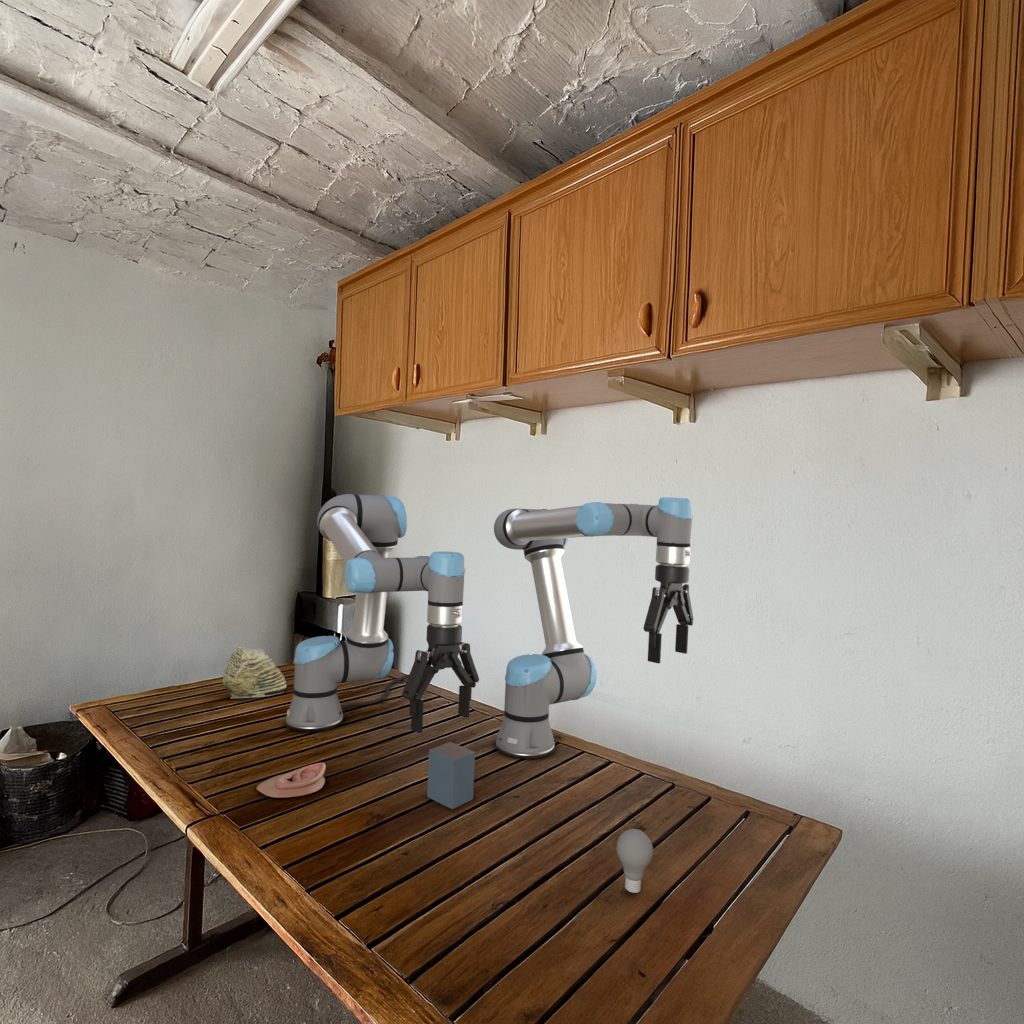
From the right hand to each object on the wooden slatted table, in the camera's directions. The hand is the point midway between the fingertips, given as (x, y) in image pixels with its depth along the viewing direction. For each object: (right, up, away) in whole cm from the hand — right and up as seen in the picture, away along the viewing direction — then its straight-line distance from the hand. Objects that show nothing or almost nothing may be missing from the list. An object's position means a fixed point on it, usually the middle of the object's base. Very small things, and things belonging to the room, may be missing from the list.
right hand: (667, 657), depth 145 cm
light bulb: (-16, -30, -39) cm, 52 cm away
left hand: (-51, -12, -10) cm, 53 cm away
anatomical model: (-84, -27, -8) cm, 88 cm away
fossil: (-116, -24, +53) cm, 130 cm away
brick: (-49, -28, -9) cm, 57 cm away
